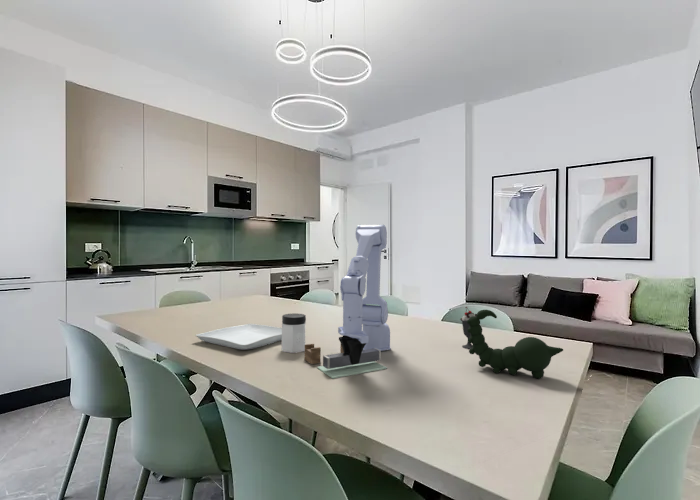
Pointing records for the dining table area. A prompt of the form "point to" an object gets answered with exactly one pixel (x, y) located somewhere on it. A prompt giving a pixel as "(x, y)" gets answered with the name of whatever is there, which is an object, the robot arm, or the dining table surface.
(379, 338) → the robot arm
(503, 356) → the toy figurine
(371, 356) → the rail
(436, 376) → the dining table surface
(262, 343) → the square plate
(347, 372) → the mat
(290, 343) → the jar
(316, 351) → the post
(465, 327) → the sundae
